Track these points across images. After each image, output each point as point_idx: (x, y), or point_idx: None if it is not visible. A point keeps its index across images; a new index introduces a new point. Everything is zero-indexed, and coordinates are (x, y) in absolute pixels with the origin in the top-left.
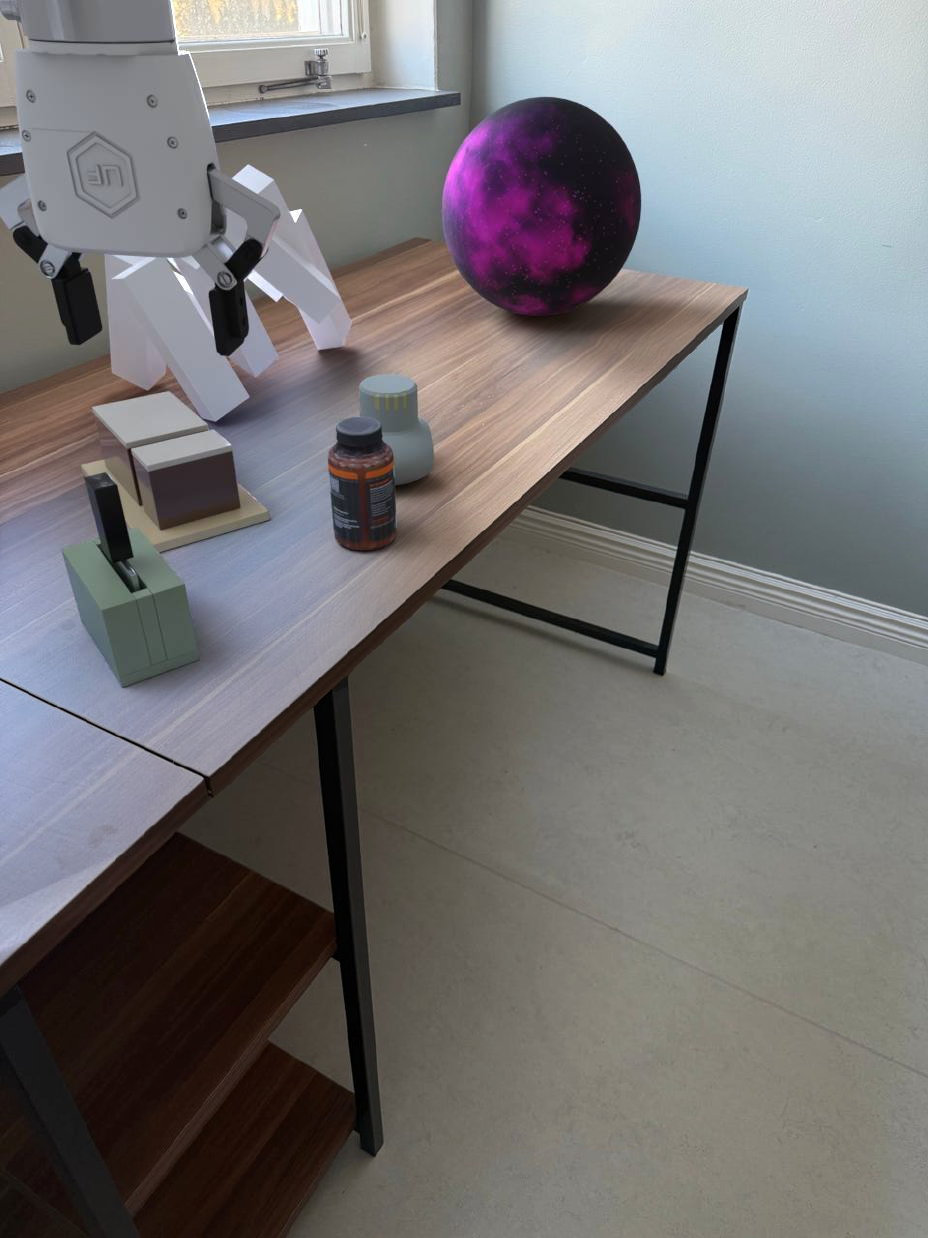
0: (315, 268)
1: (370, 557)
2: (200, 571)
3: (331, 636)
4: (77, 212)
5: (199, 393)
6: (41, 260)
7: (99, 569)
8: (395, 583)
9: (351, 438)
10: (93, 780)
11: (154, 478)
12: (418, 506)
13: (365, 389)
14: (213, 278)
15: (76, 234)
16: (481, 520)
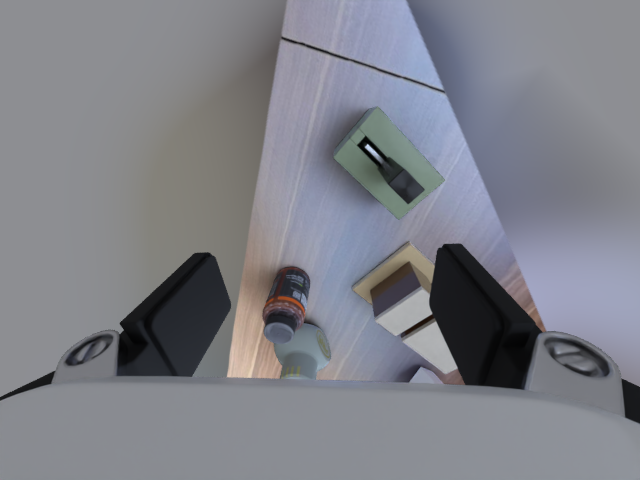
0: None
1: (283, 263)
2: (371, 232)
3: (271, 189)
4: None
5: (433, 383)
6: (612, 376)
7: (403, 159)
8: (260, 243)
9: (278, 320)
10: (346, 8)
11: (416, 283)
12: None
13: (307, 379)
14: (113, 349)
15: (486, 467)
16: (242, 303)
